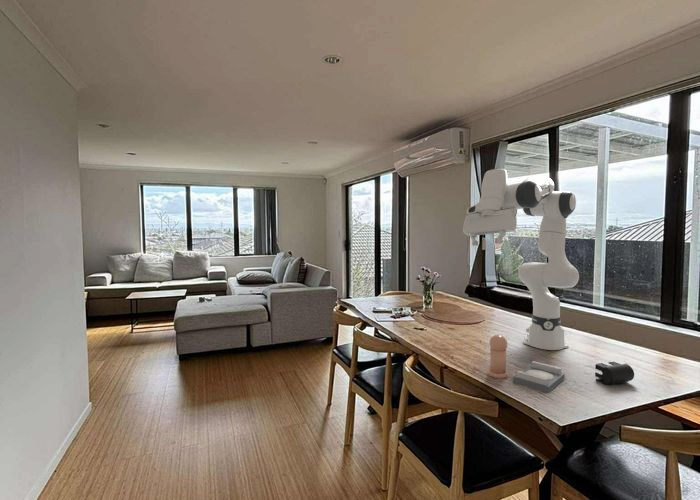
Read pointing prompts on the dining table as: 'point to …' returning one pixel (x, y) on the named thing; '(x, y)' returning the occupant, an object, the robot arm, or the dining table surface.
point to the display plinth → (540, 376)
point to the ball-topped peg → (498, 357)
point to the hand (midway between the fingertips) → (486, 244)
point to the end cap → (614, 373)
